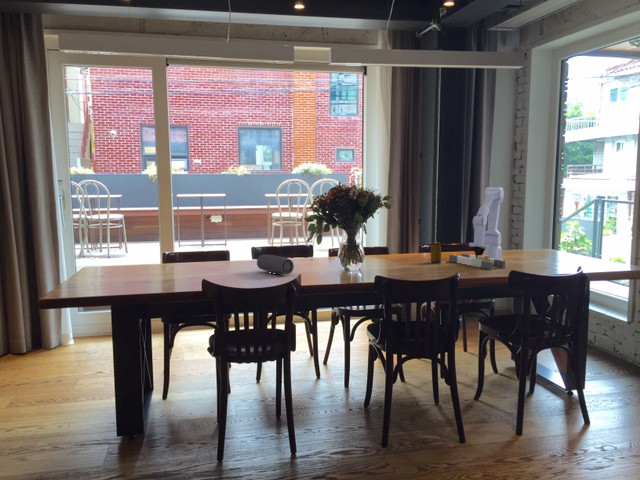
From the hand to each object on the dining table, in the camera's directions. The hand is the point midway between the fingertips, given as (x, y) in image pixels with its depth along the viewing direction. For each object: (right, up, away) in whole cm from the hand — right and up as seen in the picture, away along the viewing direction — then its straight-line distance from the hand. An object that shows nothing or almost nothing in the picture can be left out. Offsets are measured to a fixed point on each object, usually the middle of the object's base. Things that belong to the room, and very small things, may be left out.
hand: (478, 259), depth 313 cm
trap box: (-1, -3, +2) cm, 4 cm away
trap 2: (+5, -4, -10) cm, 12 cm away
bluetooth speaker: (-117, -7, -17) cm, 118 cm away
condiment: (-22, -2, +11) cm, 24 cm away
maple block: (+2, -1, -3) cm, 4 cm away
